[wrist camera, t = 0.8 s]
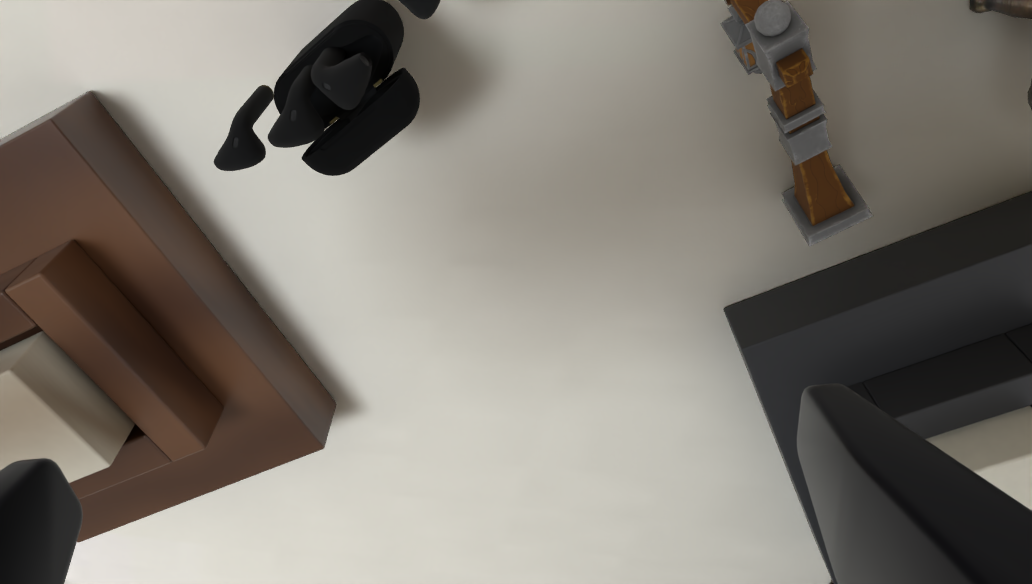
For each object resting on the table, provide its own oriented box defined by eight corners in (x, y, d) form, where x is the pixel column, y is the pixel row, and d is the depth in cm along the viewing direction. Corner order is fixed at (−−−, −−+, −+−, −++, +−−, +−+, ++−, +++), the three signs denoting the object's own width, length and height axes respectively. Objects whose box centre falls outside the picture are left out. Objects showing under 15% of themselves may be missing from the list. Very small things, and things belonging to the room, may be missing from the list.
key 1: (137, 422, 22) (111, 467, 20) (39, 463, 23) (7, 509, 21) (45, 328, 20) (8, 370, 19) (-58, 376, 21) (-101, 420, 19)
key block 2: (1086, 455, 28) (1166, 544, 25) (814, 537, 30) (853, 630, 27) (1057, 181, 22) (1157, 248, 19) (722, 307, 24) (757, 388, 21)
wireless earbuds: (436, -76, 18) (416, -39, 14) (502, 10, 19) (501, 69, 15) (238, 103, 21) (170, 181, 16) (307, 171, 22) (259, 261, 17)
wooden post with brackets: (739, -111, 17) (832, 4, 15) (803, 112, 23) (877, 221, 21) (665, -65, 18) (742, 54, 15) (747, 141, 24) (812, 252, 21)
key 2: (1040, 482, 24) (1076, 527, 22) (920, 518, 24) (947, 564, 23) (1027, 401, 22) (1065, 444, 20) (899, 443, 23) (927, 487, 21)
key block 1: (337, 403, 26) (313, 491, 23) (105, 495, 28) (51, 588, 25) (90, 90, 20) (9, 146, 17) (-177, 235, 23) (-297, 311, 19)
